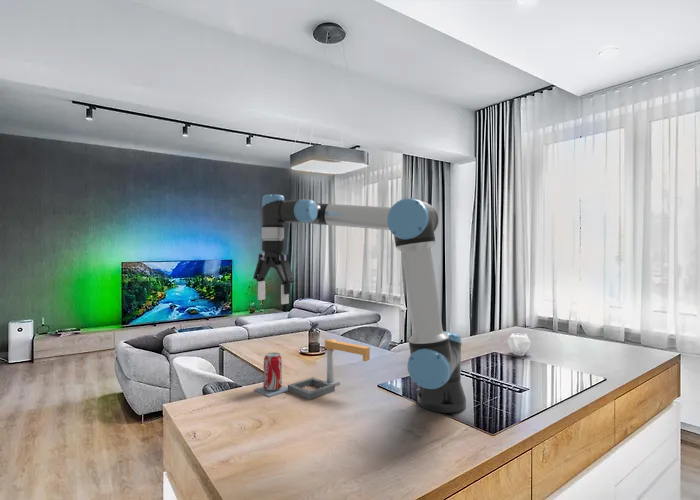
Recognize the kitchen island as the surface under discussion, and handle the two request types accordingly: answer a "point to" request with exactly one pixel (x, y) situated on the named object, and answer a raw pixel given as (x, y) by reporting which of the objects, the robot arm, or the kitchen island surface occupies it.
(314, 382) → the square ring with handle
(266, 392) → the rubber mat
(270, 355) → the beverage can
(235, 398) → the kitchen island surface
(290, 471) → the kitchen island surface
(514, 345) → the white rounded lump
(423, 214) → the robot arm
